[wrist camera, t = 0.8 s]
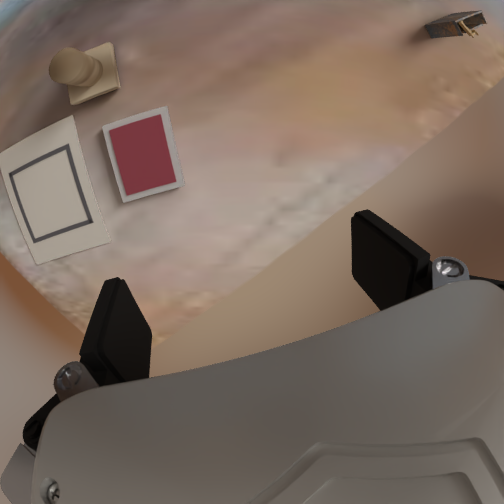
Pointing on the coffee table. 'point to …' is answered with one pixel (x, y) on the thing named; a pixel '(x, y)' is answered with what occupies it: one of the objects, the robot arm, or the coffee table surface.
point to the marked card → (53, 193)
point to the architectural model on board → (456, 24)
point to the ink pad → (144, 154)
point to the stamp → (86, 72)
